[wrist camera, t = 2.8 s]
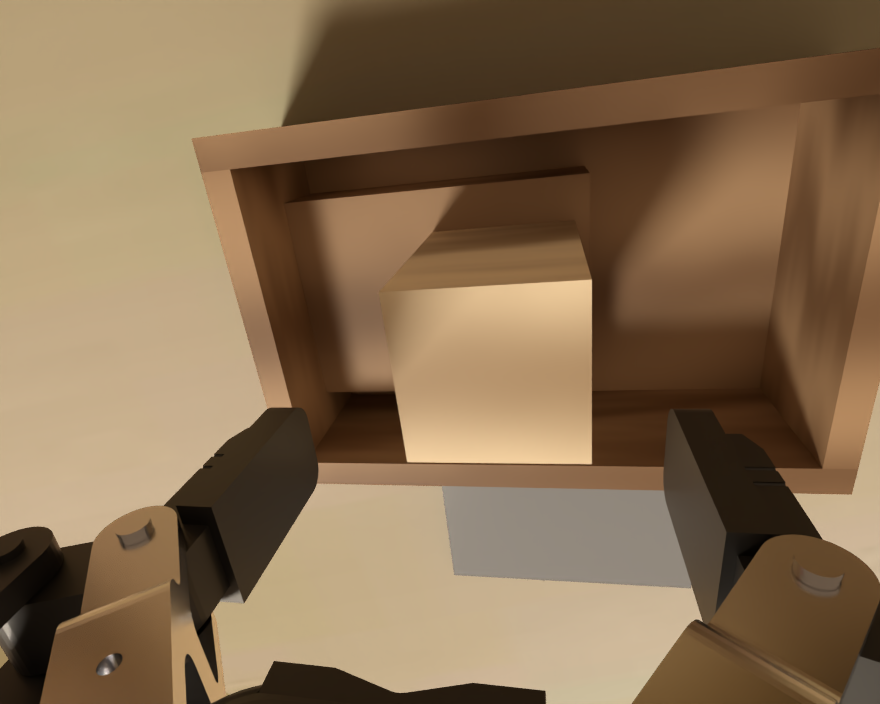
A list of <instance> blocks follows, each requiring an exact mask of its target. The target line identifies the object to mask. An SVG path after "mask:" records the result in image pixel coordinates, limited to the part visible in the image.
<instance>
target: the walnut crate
mask: <svg viewBox="0 0 880 704" xmlns="http://www.w3.org/2000/svg"><path fill="white" fill-rule="evenodd" d="M192 142H193V145H194V149H195V152H196V156H197V159H198V163H199V166H200V170H201V174H202V177H203V181H204V184H205V188H206V191H207V195H208V198H209V202H210V205H211V209H212V213H213V216H214V220H215V223H216V227H217V230H218V234H219V237H220V241H221V245H222V248H223V252H224V255H225V259H226V262H227V266H228V269H229V273H230V276H231V280H232V284H233V287H234V291H235V294H236V298H237V301H238V305H239V308H240V312H241V315H242V319H243V323H244V326H245V330H246V333H247V337H248V340H249V344H250V347H251V351H252V354H253V358H254V362H255V365H256V369H257V372H258V376H259V379H260V383H261V386H262V390H263V394H264V397H265V401H266V404H267V408H272V407H299V408H302V409H303V410H304V411H305V412H306V415H307V418H308V422H309V426H310V430H311V435H312V439H313V443H314V448H315V452H316V456H317V461H318V468H319V472H318V480H317V483H318V484H367V485H416V486H465V487H513V488H562V489H611V490H660V491H664V484H663V470H664V458H665V445H666V432H667V419H668V413H669V411H670V409H711V410H712V411H713V412H714V414H715V416H716V418H717V419H718V421H719V423H720V425H721V427H722V428H723V430H724V432H725V434H743V435H744V436H746V437H747V438H749V439H750V440H751V441H753V442H754V443H756V444H757V445H758V446H760V447H761V448H763V449H764V450H765V452H766V453H767V455H768V456H769V458H770V459H771V461H772V463H773V464H774V466H775V467H776V471H778V472H779V473H780V475H781V476H782V478H783V479H784V481H785V482H786V483H785V484H786V486H788V487H789V489H790V490H791V492H792V493H807V494H852V491H853V487H854V483H855V479H856V475H857V471H858V467H859V463H860V459H861V455H862V451H863V447H864V443H865V439H866V435H867V430H868V426H869V422H870V418H871V414H872V410H873V406H874V402H875V398H876V394H877V390H878V386H879V382H880V48H875V49H868V50H860V51H853V52H845V53H837V54H830V55H822V56H815V57H807V58H799V59H792V60H784V61H777V62H769V63H762V64H754V65H746V66H739V67H731V68H724V69H716V70H708V71H701V72H693V73H686V74H678V75H671V76H663V77H655V78H648V79H640V80H633V81H625V82H617V83H610V84H602V85H595V86H587V87H580V88H572V89H564V90H557V91H549V92H542V93H534V94H526V95H519V96H511V97H504V98H496V99H489V100H481V101H473V102H466V103H458V104H451V105H443V106H435V107H428V108H420V109H413V110H405V111H398V112H390V113H382V114H375V115H367V116H360V117H352V118H345V119H337V120H329V121H322V122H314V123H307V124H299V125H291V126H284V127H276V128H269V129H261V130H254V131H246V132H238V133H231V134H223V135H216V136H208V137H200V138H193V139H192ZM574 220H575V223H576V226H577V229H578V233H579V236H580V240H581V243H582V247H583V250H584V254H585V257H586V261H587V264H588V268H589V271H590V275H591V278H592V464H525V463H435V462H407V458H406V452H405V446H404V440H403V434H402V428H401V422H400V416H399V411H398V405H397V399H396V393H395V387H394V381H393V375H392V369H391V363H390V357H389V351H388V345H387V339H386V333H385V327H384V321H383V315H382V309H381V303H380V298H379V291H380V290H381V289H382V288H383V287H384V286H385V284H386V283H387V282H388V281H389V280H390V279H391V278H392V277H393V276H394V274H395V273H396V272H397V271H398V270H399V269H400V268H401V267H402V266H403V264H404V263H405V262H406V261H407V260H408V259H409V258H410V257H411V255H412V254H413V253H414V252H415V251H416V250H417V249H418V248H419V247H420V245H421V244H422V243H423V242H424V241H425V240H426V239H427V238H428V237H429V235H430V234H431V233H432V232H439V231H451V230H464V229H476V228H488V227H500V226H513V225H525V224H537V223H549V222H562V221H574Z"/></svg>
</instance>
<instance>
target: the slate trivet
mask: <svg viewBox="0 0 880 704" xmlns="http://www.w3.org/2000/svg"><path fill="white" fill-rule="evenodd" d="M442 490H443V497H444V505H445V512H446V519H447V526H448V533H449V540H450V548H451V555H452V562H453V569H454V575H462V576H480V577H498V578H516V579H534V580H552V581H570V582H587V583H605V584H623V585H641V586H659V587H677V588H691V582H690V578H689V575H688V572H687V569H686V565H685V562H684V559H683V556H682V553H681V549H680V546H679V543H678V540H677V536H676V533H675V530H674V527H673V524H672V520H671V517H670V514H669V511H668V507H667V504H666V500H665V494H664V491H660V490H611V489H562V488H513V487H465V486H442Z"/></svg>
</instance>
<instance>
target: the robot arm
mask: <svg viewBox="0 0 880 704" xmlns="http://www.w3.org/2000/svg"><path fill="white" fill-rule="evenodd" d="M318 472H319V468H318V461H317V456H316V452H315V448H314V443H313V439H312V435H311V430H310V426H309V422H308V418H307V415H306V412H305V411H304V410H303V409H302V408H299V407H272V408H268V409H267V410H266V411H265V412H264V413H263V414H262V415H261V416H260V417H259V418H258V419H257V420H256V421H255V422H254V424H253V425H252V426H251V427H250V428H247V429H245V430H244V431H242V432H240V433H239V434H237V435H235V436H234V437H232V438H231V439H229V440H228V441H227V442H226V443H225V444H224V445H223V446H222V447H221V448H220V449H219V450H218V451H217V452H216V453H215V454H214V457H211V458H210V459H209V460H208V461H207V462H206V463H205V464H204V465H203V469H199V470H198V471H197V472H196V473H195V474H194V475H193V476H192V477H191V478H190V479H189V480H188V481H187V482H186V483H185V484H184V485H183V486H182V487H181V489H180V490H179V491H178V492H177V493H176V494H175V495H174V496H173V497H172V498H171V499H170V500H169V501H168V502H167V503H166V504H165V505H164V506H150V507H145V508H142V509H138V510H135V511H133V512H130V513H128V514H126V515H124V516H122V517H120V518H118V519H116V520H115V521H113V522H112V523H110V524H109V525H108V526H107V527H105V528H104V529H103V530H102V531H101V532H100V533H99V535H98V536H97V537H96V539H95V540H94V542H89V543H84V544H79V545H73V546H68V547H63V548H60V547H59V545H58V543H57V541H56V539H55V537H54V535H53V533H52V531H51V530H50V529H48V528H45V527H29V528H24V529H20V530H17V531H14V532H11V533H9V534H6V535H4V536H1V537H0V646H1V648H2V649H3V651H4V652H5V654H6V656H7V657H8V659H9V660H8V661H7V662H6V663H5V664H4V665H3V666H2V667H1V668H0V704H546V693H545V691H541V690H532V689H523V688H514V687H505V686H496V685H487V684H478V683H470V684H463V685H456V686H449V687H442V688H436V689H429V690H422V691H415V692H408V693H395V692H392V691H389V690H387V689H384V688H382V687H379V686H377V685H375V684H372V683H370V682H368V681H365V680H363V679H361V678H358V677H356V676H353V675H351V674H349V673H346V672H344V671H342V670H339V669H337V668H332V667H323V666H314V665H305V664H296V663H287V662H277V661H274V662H273V664H272V666H271V668H270V670H269V672H268V674H267V676H266V678H265V680H264V682H263V684H262V685H259V686H255V687H252V688H248V689H244V690H241V691H238V692H236V693H233V694H231V695H228V696H226V692H225V684H224V676H223V668H222V660H221V652H220V644H219V636H218V628H217V622H216V618H215V616H214V613H213V610H214V609H215V607H216V606H217V604H218V603H219V602H220V601H222V602H233V603H245V601H246V599H247V598H248V596H249V595H250V593H251V591H252V590H253V588H254V587H255V585H256V583H257V582H258V580H259V578H260V577H261V575H262V574H263V572H264V570H265V569H266V567H267V566H268V564H269V562H270V561H271V559H272V557H273V556H274V554H275V553H276V551H277V549H278V548H279V546H280V545H281V543H282V541H283V540H284V538H285V536H286V535H287V533H288V532H289V530H290V528H291V527H292V525H293V524H294V522H295V520H296V519H297V517H298V515H299V514H300V512H301V511H302V509H303V507H304V506H305V504H306V503H307V501H308V499H309V498H310V496H311V494H312V493H313V491H314V489H315V487H316V484H317V480H318ZM785 483H786V482H785V481H784V479H783V478H782V476H781V475H780V473H779V472H778V471H776V467H775V466H774V464H773V463H772V461H771V459H770V458H769V456H768V455H767V453H766V452H765V450H764V449H763V448H761V447H760V446H758V445H757V444H756V443H754V442H753V441H751V440H750V439H749V438H747V437H746V436H744V435H743V434H725V432H724V430H723V428H722V427H721V425H720V423H719V421H718V419H717V418H716V416H715V414H714V412H713V411H712V410H711V409H670V411H669V413H668V419H667V432H666V445H665V458H664V470H663V484H664V494H665V500H666V504H667V507H668V511H669V514H670V517H671V520H672V524H673V527H674V530H675V533H676V536H677V540H678V543H679V546H680V549H681V553H682V556H683V559H684V562H685V565H686V569H687V572H688V575H689V578H690V582H691V585H692V588H693V591H694V594H695V598H696V601H697V604H698V607H699V610H700V614H701V617H702V620H703V622H701V621H700V620H694V621H693V622H691V623H690V624H689V625H688V626H687V628H686V629H685V630H684V631H683V633H682V634H681V636H680V637H679V638H678V640H677V641H676V643H675V644H674V645H673V647H672V648H671V650H670V651H669V652H668V654H667V655H666V657H665V658H664V659H663V661H662V662H661V663H660V665H659V666H658V668H657V669H656V670H655V672H654V673H653V675H652V676H651V677H650V679H649V680H648V682H647V683H646V684H645V686H644V687H643V689H642V690H641V691H640V693H639V694H638V696H637V697H636V698H635V700H634V701H633V703H632V704H880V583H879V580H878V578H877V577H876V575H875V574H874V572H873V571H872V570H871V569H870V568H869V567H868V566H867V565H866V564H865V563H864V562H863V561H862V560H861V559H859V558H858V557H857V556H855V555H854V554H852V553H851V552H849V551H847V550H845V549H844V548H842V547H840V546H837V545H835V544H833V543H831V542H828V541H825V540H823V539H822V538H821V536H820V534H819V533H818V531H817V530H816V528H815V527H814V525H813V524H812V522H811V521H810V519H809V518H808V516H807V515H806V513H805V512H804V510H803V508H802V507H801V505H800V504H799V502H798V501H797V499H796V498H795V496H794V495H793V493H792V492H791V490H790V489H789V487H788V486H786V484H785Z"/></svg>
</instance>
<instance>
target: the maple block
mask: <svg viewBox="0 0 880 704" xmlns="http://www.w3.org/2000/svg"><path fill="white" fill-rule="evenodd" d="M379 298H380V303H381V309H382V315H383V321H384V327H385V333H386V339H387V345H388V351H389V357H390V363H391V369H392V375H393V381H394V387H395V393H396V399H397V405H398V411H399V416H400V422H401V428H402V434H403V440H404V446H405V452H406V458H407V462H435V463H525V464H592V278H591V275H590V271H589V268H588V264H587V261H586V257H585V254H584V250H583V247H582V243H581V240H580V236H579V233H578V229H577V226H576V223H575V220H574V221H562V222H549V223H537V224H525V225H513V226H500V227H488V228H476V229H464V230H451V231H439V232H432V233H431V234H430V235H429V237H428V238H427V239H426V240H425V241H424V242H423V243H422V244H421V245H420V247H419V248H418V249H417V250H416V251H415V252H414V253H413V254H412V255H411V257H410V258H409V259H408V260H407V261H406V262H405V263H404V264H403V266H402V267H401V268H400V269H399V270H398V271H397V272H396V273H395V274H394V276H393V277H392V278H391V279H390V280H389V281H388V282H387V283H386V284H385V286H384V287H383V288H382V289H381V290H380V291H379Z"/></svg>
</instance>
